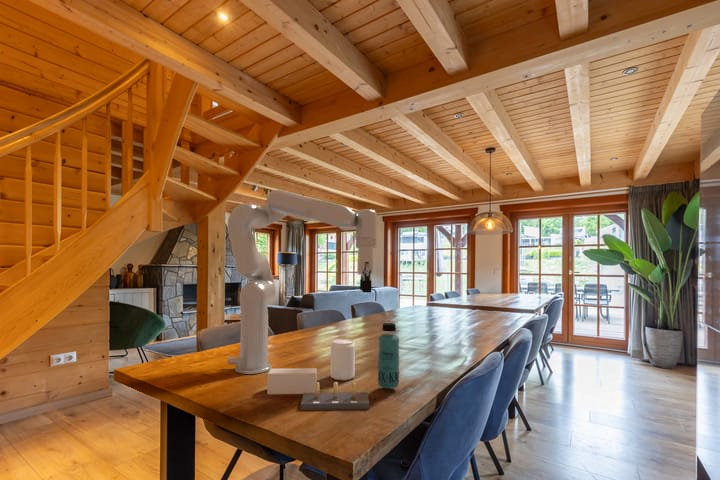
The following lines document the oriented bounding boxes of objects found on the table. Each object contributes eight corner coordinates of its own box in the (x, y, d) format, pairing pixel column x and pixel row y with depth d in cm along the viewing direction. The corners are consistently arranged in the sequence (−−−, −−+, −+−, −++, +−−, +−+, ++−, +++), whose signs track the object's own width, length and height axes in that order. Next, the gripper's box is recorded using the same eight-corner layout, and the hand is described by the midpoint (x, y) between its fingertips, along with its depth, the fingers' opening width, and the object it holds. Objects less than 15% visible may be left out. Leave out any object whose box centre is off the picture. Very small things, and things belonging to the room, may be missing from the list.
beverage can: (357, 375, 121) (358, 339, 122) (349, 382, 114) (349, 344, 114) (336, 372, 124) (336, 337, 125) (326, 379, 116) (327, 342, 117)
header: (300, 409, 92) (300, 388, 93) (303, 398, 100) (304, 378, 101) (369, 408, 93) (369, 387, 94) (367, 397, 101) (367, 377, 102)
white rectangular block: (267, 394, 103) (267, 373, 104) (270, 388, 108) (271, 368, 109) (315, 394, 104) (315, 373, 104) (316, 388, 109) (316, 368, 109)
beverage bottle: (376, 386, 111) (376, 321, 112) (397, 385, 111) (397, 321, 112) (379, 394, 104) (379, 325, 105) (401, 393, 105) (401, 325, 106)
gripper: (354, 244, 136) (353, 289, 135) (357, 242, 119) (356, 293, 118) (373, 245, 137) (373, 289, 136) (379, 242, 120) (378, 293, 119)
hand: (365, 291), depth 127 cm, fingers open, 9 cm apart
